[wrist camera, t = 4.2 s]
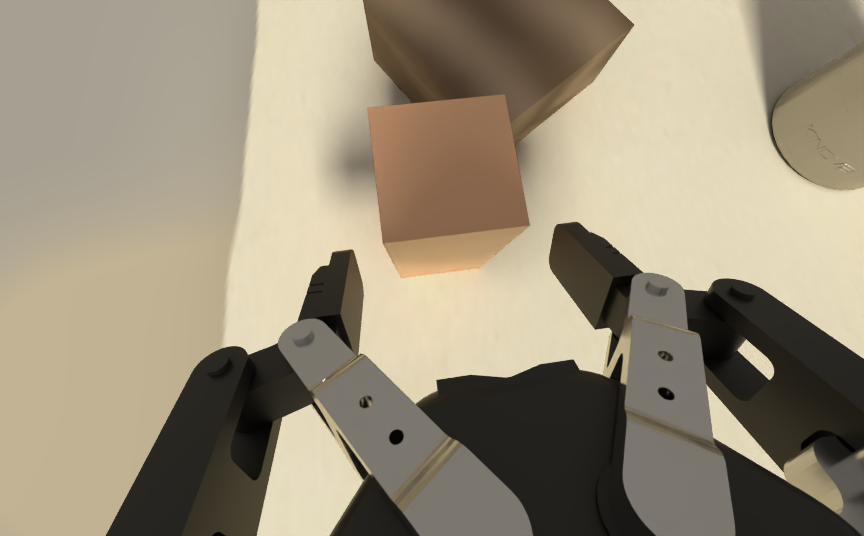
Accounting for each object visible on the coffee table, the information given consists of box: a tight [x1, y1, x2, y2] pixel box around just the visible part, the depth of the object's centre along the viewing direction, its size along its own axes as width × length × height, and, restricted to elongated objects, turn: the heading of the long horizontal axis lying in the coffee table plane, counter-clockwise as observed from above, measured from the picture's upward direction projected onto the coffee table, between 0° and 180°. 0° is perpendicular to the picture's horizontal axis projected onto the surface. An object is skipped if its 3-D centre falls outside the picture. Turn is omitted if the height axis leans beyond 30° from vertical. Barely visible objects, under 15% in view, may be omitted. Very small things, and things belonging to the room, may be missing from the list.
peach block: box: [368, 94, 530, 278], centre depth 16 cm, size 5×5×10 cm
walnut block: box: [363, 0, 634, 145], centre depth 21 cm, size 12×12×5 cm
